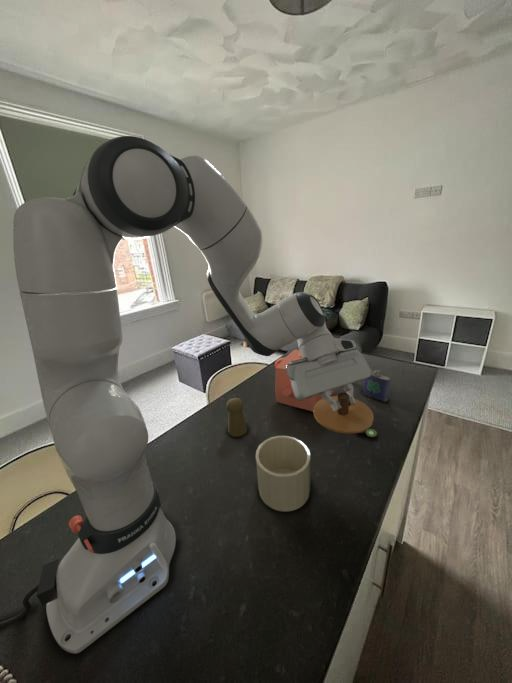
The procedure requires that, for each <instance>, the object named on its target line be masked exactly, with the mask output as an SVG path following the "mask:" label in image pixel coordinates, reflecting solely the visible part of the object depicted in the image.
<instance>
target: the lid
mask: <svg viewBox="0 0 512 683" xmlns="http://www.w3.org/2000/svg"><path fill="white" fill-rule="evenodd" d="M331 397H332V398H333V399H334V400H335V401H336V402H337V401H339V402H340V405H341V406H342V408H341V409H339V410H336V411H333V410H332V407H331V405H330V404H329V403H327V402H326V401H325V400H324V399H321V400H320V401H318V402H317V403H316V404H315V406H314V409H313V411H312V414H313V417H314V419H315V420H316V422H317V423H318V424H320V426H322V427H323V428H325V429H327V430H330V431H332V432H334V433H340V434H350V435H351V434H352V435H353V434H360V433H359V432H362V431H365V430H367V429H370V428H371V427H372V425H373V424H374V420H375V419H374V418H375V416H374V412H373V411H372V409H371V408H370V407H369V406H368V405H367V404H366V403H364V402H363V401H362V400H359V399H356V398H354V399H355V401H356V403H355V404H353V405H350V406H349V399H350V396H349V394H347V392H339V393H338V394H337V395H331Z"/></svg>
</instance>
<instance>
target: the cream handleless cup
mask: <svg viewBox="0 0 512 683" xmlns="http://www.w3.org/2000/svg"><path fill="white" fill-rule="evenodd" d="M311 459H312V458H311V451H310V449H309V447H308V446H307V445H306V444H305V443H304V442H303V441H302V440H301V439H298V438H297V437H294V436H289V435H275V436H271V437H268V438H267V439H265V440H263V441H262V442H261V443H260V444H259V445H258V447H257V449H256V451H255V465H256V476H257V477H256V478H257V489H258V494H259V497H260V499H261V500H262V502H263V503H264V504H265V505H266V506H267V507H269V508H271V509H272V510H275V511H278V512H284V513H285V512H286V513H287V512H292V511H296V510H298V509H300V508H302V507H303V506H304V505H305V504H306V503H307V501H308V499H309V498H310V495H311V494H310V493H311V463H312V462H311V461H312V460H311Z"/></svg>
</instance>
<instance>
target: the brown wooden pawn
mask: <svg viewBox="0 0 512 683" xmlns="http://www.w3.org/2000/svg"><path fill="white" fill-rule="evenodd" d="M225 405H226V406H225V407H226V410H227V412H228V421H227V424H228V426H227V432H228V434H229V436H232V437H242V436H244V435H245V434H247V431H248V427H247V423H246V418H245V416H244V412H243V409H244V402H243V400H242V399H241V398H239V397H234V398H230V399H229V400H227V402H226V404H225Z"/></svg>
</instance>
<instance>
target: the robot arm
mask: <svg viewBox="0 0 512 683" xmlns="http://www.w3.org/2000/svg"><path fill="white" fill-rule="evenodd" d="M172 228H176V229H177V230H179V231H180V232H181V233H183V234H184V235H186V237H187V238H188V239H189V240H190V241H191V242H192V244H193V245H194V246H195V247H196V248H197V249H198V250H199V251H200V253H201V254H202V255H203V257H204V259H205V261H206V263H207V265H208V269H207V271H206V279H207V282H208V285H209V287H210V289H211V291H212V292H213V294H214V296H215V297H216V299H217V300H218V302H219V304H220V305H221V306H222V307H223V309H224V310H225V312H226V314H228V316H229V318H230V319H231V320H232V321H233V323H234V324H235V326H236V328H238V330H239V331H240V333H241V335H242V336H243V338H244V340H245V342H246V343H247V345H248V347H249V348H250V350H251V351H252V352H253V353H255V354H257V355H259V356H264V357H271V356H272V355H274V354H275V353H277V352H279V351H280V350H281V349H283V348H285V347H287V346H288V345H291V344H293V343H294V342H297V347H298V350H300V353H301V355H302V357H303V358H301V359H298V360H295V361H294V360H293V361H290V362H289V364H287V366H286V372H287V375H288V377H289V378H290V381H291V385H292V389H293V392H294V395H295V397H296V398H297V399H298V400H300V401H301V400H304V399H307V398H310V397H313V396H316V395H320V394H321V396H322V398H323V399H324V400H325V401H326V402H327V403H329V404H330V405H331V407H332V410H333V411H336V410H339V409H341V408H342V406H341V405H340V402H339V401H337V402H336V401H335V400H334V399H333V398H332V397H331V396H333V394H331V392H330V391H332V390H333V391H335V390H338V389H343V391H344V392H345V393H347V394H349V396H350V399H349V406H350V405H353V404H355V403H356V401H355V399H356V398H355V397H354V393H355V392H354V391H355V390H354V389H355V387H354V385H353V384H356V383H359V382H362V381H364V380H365V379H367V378H369V377H370V376H371V370H372V369H371V367H370V366H369V363H368V362H367V360H366V359H365V356H364V355H363V354H362V352H361V351H360V350H357V349H356V348H357V347H358V346H357V343H356V341H354V340H353V339H343V338H337V337H334V336H333V334H332V332H330V330H329V329H328V328H327V324H326V315H325V312H324V310H323V308H322V306H321V304H320V302H319V300H318V299H317V297H315V296H314V295H312V294H309V293H307V292H305V291H297V292H295V293H292V294H291V295H288V296H287V297H285V298H283V299H282V300H280V301H278V302H277V303H275V304H274V305H272V306H271V307H269V308H267V309H266V310H264V311H262V312H258V313H254V311H252V309H251V308H250V306H249V304H248V303H247V301H246V299H245V298H244V297H243V294H241V291H240V288H241V287H242V285H243V283H244V282H245V280H246V279H247V277H248V276H249V274H250V273H251V271H252V270H253V268H255V266H256V264H257V262H258V260H259V258H260V256H261V255H260V254H261V252H262V248H263V231H262V228H261V226H260V224H259V223H258V220H257V218H256V217H255V215H254V213H253V212H252V210H251V209H250V207H249V206H248V205H247V204H246V201H244V199H243V198H242V197H241V195H240V194H239V193H238V191H237V190H236V189H235V188H234V186H233V185H232V184H231V182H229V181H228V179H226V177H224V175H223V174H222V173H221V172H220V171H219V170H218V168H216V167H215V166H214V165H213V164H212V163H211V162H210V161H208V160H207V159H206V158H204V157H203V156H200V155H195V154H192V155H187V156H184V157H182V158H178V157H176V156H173V155H172V154H169V153H168V152H167V151H166V150H164V149H163V148H162V147H160V146H159V145H157V144H155V143H153V142H152V141H150V140H147V139H145V138H142V137H139V136H133V135H121V136H116V137H113V138H111V139H107V140H106V141H104V142H103V143H102V144H100V145H99V146H98V147H97V148H96V149H95V151H94V152H93V153H92V155H91V157H90V158H89V159H88V160H87V162H86V163H85V164H84V166H83V168H82V170H81V174H80V177H79V180H78V183H77V186H76V188H75V190H74V192H73V194H72V196H68V197H56V196H43V197H36V198H33V199H30V200H28V201H25V202H24V203H22V204H20V205H19V206H18V208H16V210H15V213H14V215H13V229H12V230H13V231H12V234H13V235H12V237H13V238H12V239H13V242H12V243H13V260H14V268H15V276H16V280H17V286H18V291H19V296H20V301H21V304H22V309H23V313H24V318H25V322H26V323H25V324H26V327H27V331H28V336H29V340H30V345H31V351H32V354H33V360H34V364H35V369H36V374H37V379H38V384H39V388H40V393H41V398H42V403H43V408H44V412H45V416H46V418H47V423H48V426H49V430H50V433H51V437H52V441H53V445H54V448H55V451H56V453H57V456H58V458H59V460H60V462H61V464H62V467H63V469H64V471H65V472H66V475H67V477H68V478H69V480H70V483H71V484H72V486H73V488H74V490H75V491H76V494H77V496H78V498H79V501H80V503H81V506H82V508H83V511H84V513H85V519H84V520H83V518H82V516H81V515H74V516H72V517H71V519H70V520H69V522H68V527H69V528H70V529H71V532H72V533H73V534H77V536H78V538H77V539H76V540H75V542H74V543H73V545H72V546H71V548H70V549H69V550H68V551H67V553H66V554H65V555H64V556H63V558H62V559H61V558H60V557H58V558H56V559H54V560H51V561H49V562H46V563H44V564H42V569H41V573H40V578H39V582H38V584H37V585H36V586H34V587H33V588H31V589H30V590H29V591H28V592H27V593H26V594H25V596H24V597H23V600H22V606H23V607H24V609H23V610H22V611H21V612H20V613H18V614H17V615H16V616H13V617H12V618H8V619H6V620H3V621H1V622H0V629H1V628H3V627H5V626H8V625H9V624H11V623H14V622H16V621H18V620H20V619H22V618H24V617H25V616H27V614H28V613H29V612H30V610H31V608H32V605H31V602H30V600H29V599H30V598H31V597H32V596H33V595H35V594H36V597H37V599H38V600H39V602H40V604H41V606H45V609H46V610H45V612H46V617H47V622H48V626H49V629H50V632H51V634H52V637H53V639H54V640H55V641H56V642H55V643H57V645H58V646H59V647H60V648H61V649H62V650H64V651H66V652H67V653H70V654H74V655H76V654H79V653H81V652H83V651H84V650H85V649H86V648H88V647H89V646H90V645H92V644H93V643H94V642H96V641H97V640H98V639H99V638H101V637H102V636H103V635H104V634H106V633H107V632H109V631H110V630H111V629H113V627H115V626H116V625H118V624H119V623H120V622H121V621H123V620H124V619H125V618H126V617H127V616H129V615H130V614H132V613H133V612H134V611H135V610H137V609H138V608H139V607H141V606H142V605H143V604H144V603H146V602H147V601H148V600H150V599H151V598H152V597H153V596H154V595H156V594H157V593H159V592H160V591H161V590H162V589H164V588H165V587H166V586H167V584H168V582H169V579H170V578H169V577H170V564H171V560H172V558H173V556H174V553H175V549H176V543H177V535H176V534H177V533H176V531H175V527H173V525H172V523H171V522H170V521H169V520H168V519H167V517H166V516H165V514H164V512H163V510H162V503H161V500H160V499H161V497H160V494H159V490H158V487H157V486H156V484H155V482H153V480H152V477H151V472H150V469H149V465H148V462H147V458H146V457H147V456H146V450H147V447H148V444H149V432H148V428H147V425H146V421H145V418H144V416H143V414H142V412H141V409H140V407H139V406H138V404H136V403H135V402H134V400H132V398H131V397H130V396H129V394H128V393H127V392H126V391H125V390H124V388H123V385H122V383H121V380H120V377H119V355H120V347H121V346H122V343H123V338H124V337H123V330H122V321H121V313H120V305H119V304H120V303H119V295H118V288H117V287H118V286H117V280H116V273H115V269H114V268H115V267H114V264H115V256H116V255H115V254H116V251H117V248H118V246H119V244H120V243H121V242H122V241H124V240H132V241H134V240H136V241H137V240H142V239H147V238H150V237H155V236H157V235H161V234H163V233H166V232H168V231H169V230H171V229H172ZM289 365H290V366H289ZM330 395H331V396H330ZM154 584H155V585H154Z"/></svg>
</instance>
